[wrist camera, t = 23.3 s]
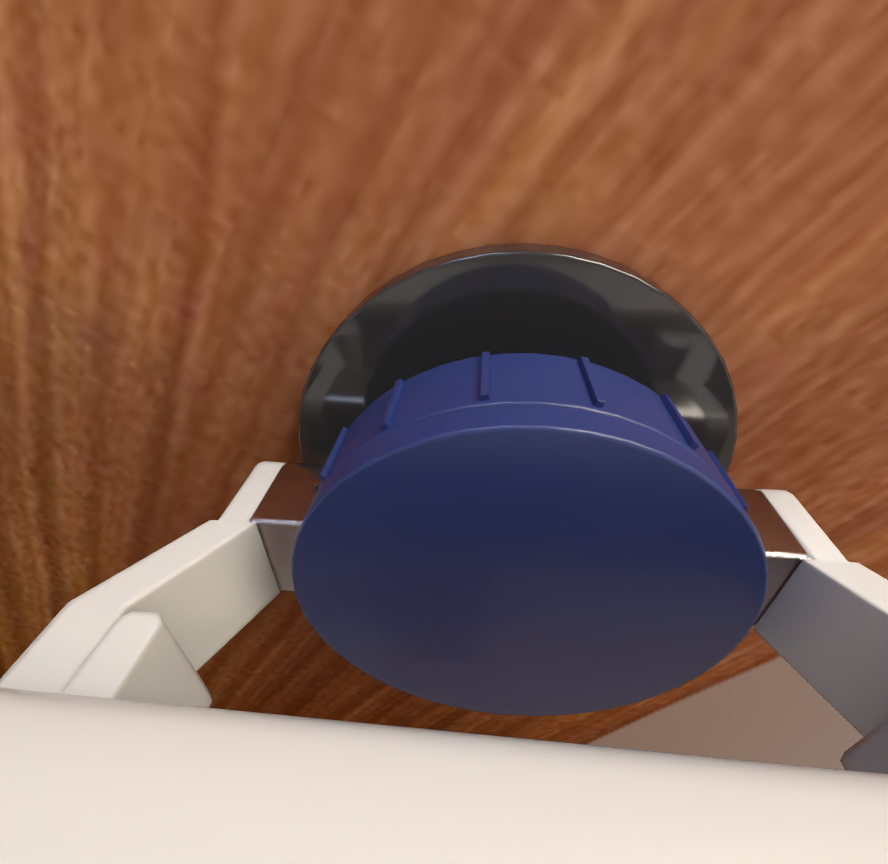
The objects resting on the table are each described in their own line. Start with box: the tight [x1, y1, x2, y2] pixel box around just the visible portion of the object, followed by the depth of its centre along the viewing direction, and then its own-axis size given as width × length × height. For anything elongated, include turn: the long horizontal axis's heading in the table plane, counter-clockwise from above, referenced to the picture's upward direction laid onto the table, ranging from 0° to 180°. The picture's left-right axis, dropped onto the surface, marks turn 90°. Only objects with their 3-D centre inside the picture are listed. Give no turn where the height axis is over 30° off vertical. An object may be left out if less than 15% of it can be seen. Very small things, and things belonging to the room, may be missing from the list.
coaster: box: [299, 243, 737, 473], centre depth 10 cm, size 9×9×1 cm
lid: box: [291, 351, 768, 716], centre depth 7 cm, size 7×7×2 cm
